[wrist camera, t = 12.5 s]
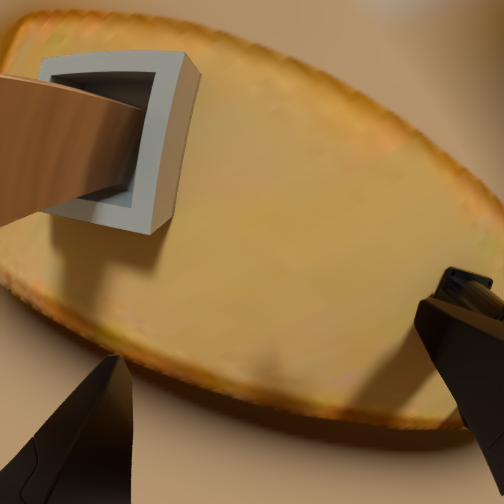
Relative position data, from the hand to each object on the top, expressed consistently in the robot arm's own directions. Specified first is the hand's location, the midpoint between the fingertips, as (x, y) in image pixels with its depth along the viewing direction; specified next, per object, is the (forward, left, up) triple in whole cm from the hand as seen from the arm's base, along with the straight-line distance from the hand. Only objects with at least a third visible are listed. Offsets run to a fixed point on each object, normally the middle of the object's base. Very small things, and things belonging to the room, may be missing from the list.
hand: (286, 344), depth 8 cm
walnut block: (+11, -4, -11) cm, 16 cm away
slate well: (+11, -4, -12) cm, 17 cm away
